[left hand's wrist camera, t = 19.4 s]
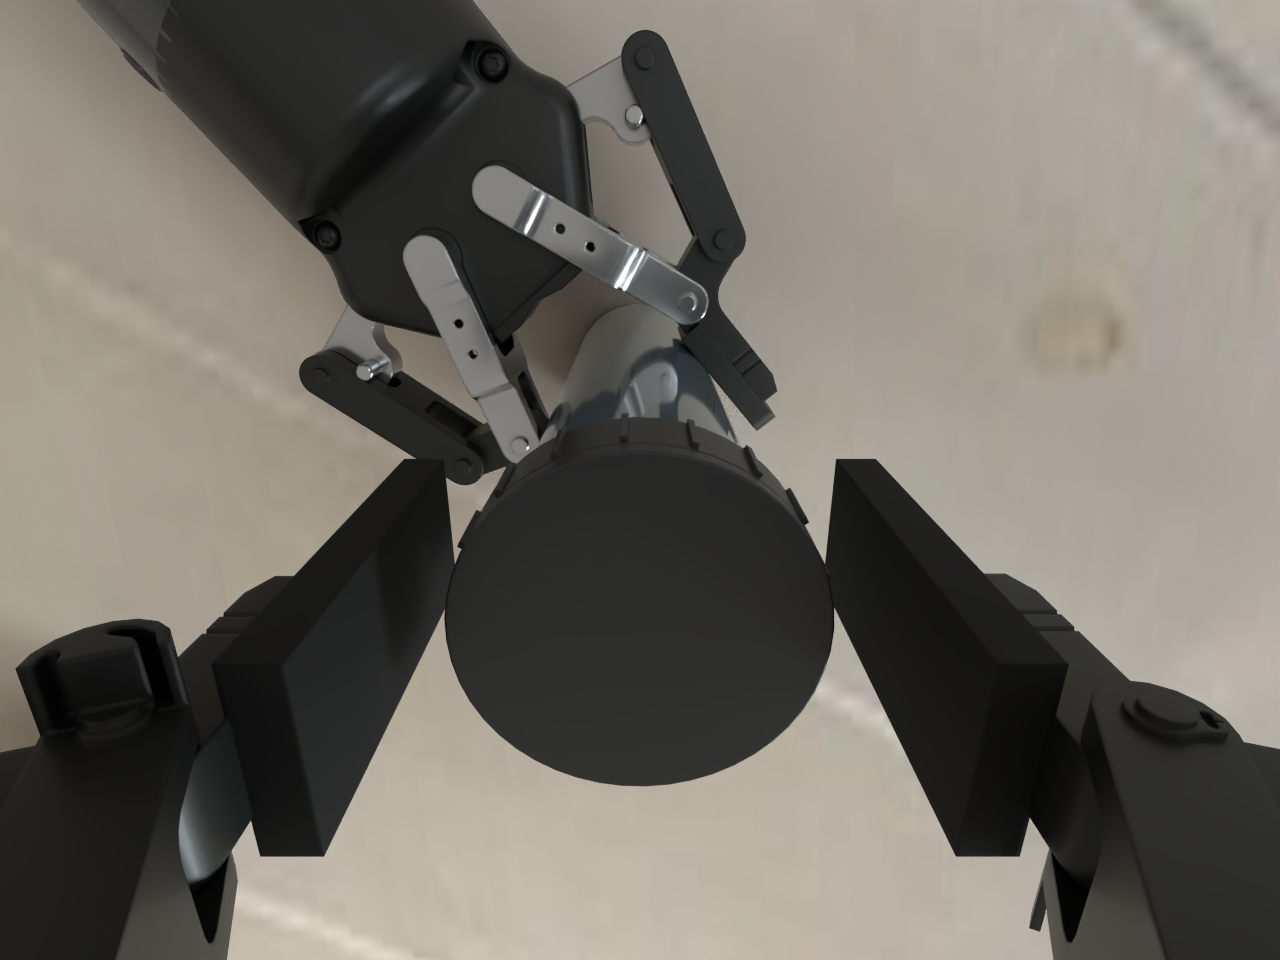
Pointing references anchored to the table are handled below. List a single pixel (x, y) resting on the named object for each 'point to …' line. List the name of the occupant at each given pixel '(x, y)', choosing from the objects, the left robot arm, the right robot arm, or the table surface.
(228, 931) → the left robot arm
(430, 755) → the table surface
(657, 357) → the grey cylindrical flask
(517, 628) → the lid
